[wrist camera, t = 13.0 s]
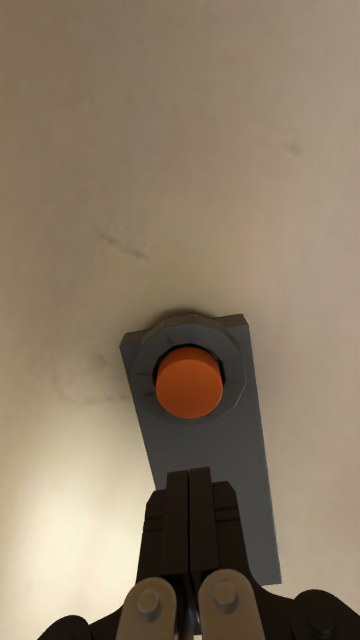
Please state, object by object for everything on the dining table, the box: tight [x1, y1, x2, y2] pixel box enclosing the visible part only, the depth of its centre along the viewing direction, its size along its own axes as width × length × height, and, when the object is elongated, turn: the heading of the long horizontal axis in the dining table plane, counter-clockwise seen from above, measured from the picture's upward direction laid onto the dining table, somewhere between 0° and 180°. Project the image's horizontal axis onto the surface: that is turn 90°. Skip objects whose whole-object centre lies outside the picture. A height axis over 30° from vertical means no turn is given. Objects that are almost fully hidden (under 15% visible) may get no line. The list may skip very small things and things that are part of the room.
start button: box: [156, 347, 223, 419], centre depth 19 cm, size 4×4×2 cm
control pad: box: [119, 314, 282, 586], centre depth 24 cm, size 23×8×4 cm, turn 11°
